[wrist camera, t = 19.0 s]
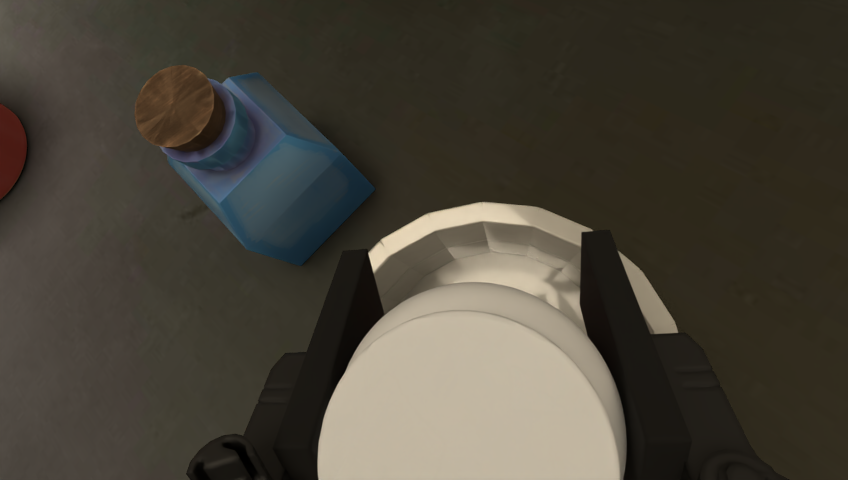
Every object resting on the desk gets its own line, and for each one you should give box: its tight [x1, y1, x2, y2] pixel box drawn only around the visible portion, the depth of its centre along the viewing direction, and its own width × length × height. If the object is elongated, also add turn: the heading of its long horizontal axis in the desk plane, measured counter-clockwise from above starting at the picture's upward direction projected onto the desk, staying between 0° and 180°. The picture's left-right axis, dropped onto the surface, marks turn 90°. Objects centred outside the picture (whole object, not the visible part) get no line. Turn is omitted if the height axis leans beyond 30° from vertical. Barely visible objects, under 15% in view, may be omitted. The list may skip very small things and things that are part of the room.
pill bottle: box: [318, 282, 627, 480], centre depth 13 cm, size 6×6×11 cm
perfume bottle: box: [135, 65, 375, 266], centre depth 24 cm, size 6×6×12 cm
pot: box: [368, 202, 678, 480], centre depth 22 cm, size 14×14×8 cm
